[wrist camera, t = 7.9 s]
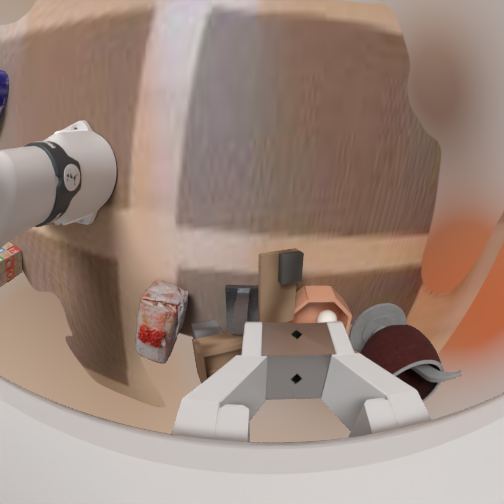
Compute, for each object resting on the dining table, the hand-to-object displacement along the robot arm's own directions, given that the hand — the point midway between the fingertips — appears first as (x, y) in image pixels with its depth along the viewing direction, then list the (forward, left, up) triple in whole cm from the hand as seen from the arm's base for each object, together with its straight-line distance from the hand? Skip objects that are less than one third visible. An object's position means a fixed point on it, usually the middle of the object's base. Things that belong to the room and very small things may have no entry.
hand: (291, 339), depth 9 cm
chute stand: (-4, -22, -35) cm, 42 cm away
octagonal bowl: (+8, -22, -35) cm, 42 cm away
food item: (-18, -22, -35) cm, 46 cm away
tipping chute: (-5, -16, -30) cm, 35 cm away
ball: (+10, -22, -33) cm, 41 cm away
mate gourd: (+23, -26, -35) cm, 49 cm away
